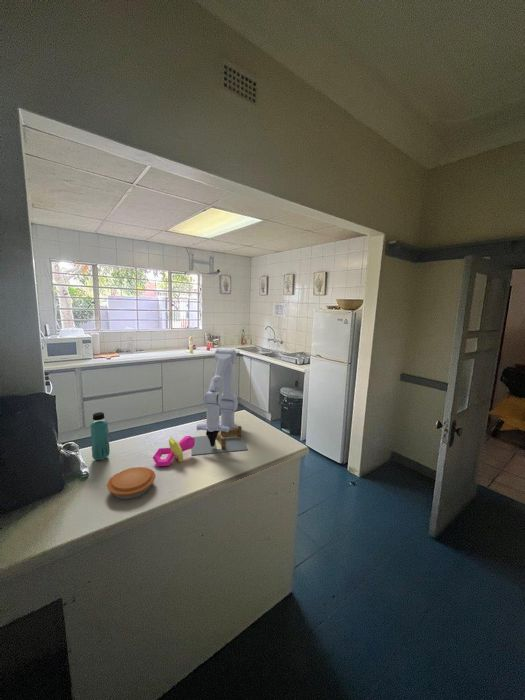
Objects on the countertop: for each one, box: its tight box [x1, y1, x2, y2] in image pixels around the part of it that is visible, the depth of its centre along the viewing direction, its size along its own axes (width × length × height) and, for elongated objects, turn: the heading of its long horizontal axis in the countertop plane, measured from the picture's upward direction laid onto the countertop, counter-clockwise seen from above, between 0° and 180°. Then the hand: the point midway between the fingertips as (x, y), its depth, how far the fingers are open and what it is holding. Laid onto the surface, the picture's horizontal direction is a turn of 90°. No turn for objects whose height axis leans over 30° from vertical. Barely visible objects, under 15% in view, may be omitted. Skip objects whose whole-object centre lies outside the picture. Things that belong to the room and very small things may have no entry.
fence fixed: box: [216, 425, 242, 439], centre depth 139 cm, size 2×13×5 cm, turn 105°
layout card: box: [190, 433, 249, 456], centre depth 133 cm, size 17×25×1 cm
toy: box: [152, 435, 195, 467], centre depth 118 cm, size 10×18×10 cm, turn 128°
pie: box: [106, 466, 156, 500], centre depth 98 cm, size 16×16×5 cm
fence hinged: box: [217, 431, 226, 449], centre depth 131 cm, size 10×2×5 cm, turn 24°
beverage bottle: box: [89, 411, 111, 461], centre depth 115 cm, size 6×7×20 cm
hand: (212, 445), depth 128 cm, fingers closed
